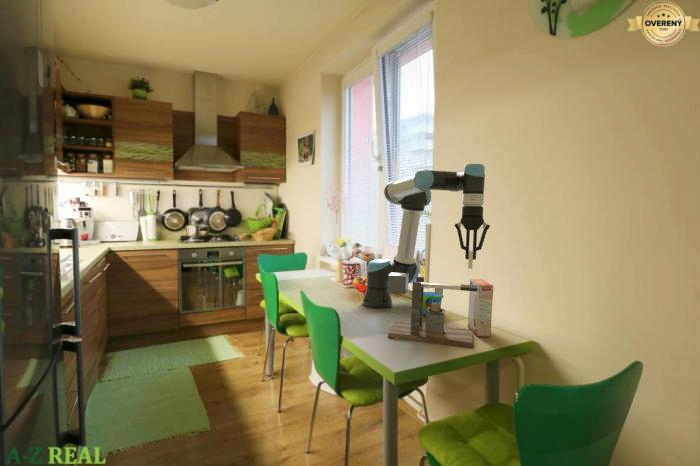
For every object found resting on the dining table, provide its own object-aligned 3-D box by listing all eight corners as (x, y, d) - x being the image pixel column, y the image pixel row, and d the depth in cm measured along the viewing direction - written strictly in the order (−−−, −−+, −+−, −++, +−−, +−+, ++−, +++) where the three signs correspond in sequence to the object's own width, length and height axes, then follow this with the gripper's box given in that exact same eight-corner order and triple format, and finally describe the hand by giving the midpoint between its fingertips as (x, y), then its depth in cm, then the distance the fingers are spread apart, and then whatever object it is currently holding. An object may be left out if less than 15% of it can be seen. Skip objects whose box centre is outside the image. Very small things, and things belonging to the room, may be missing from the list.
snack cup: (431, 310, 193) (431, 289, 193) (449, 314, 186) (450, 293, 185) (411, 315, 183) (412, 293, 182) (430, 320, 175) (431, 298, 174)
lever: (391, 288, 161) (392, 272, 160) (476, 295, 152) (477, 278, 151) (387, 293, 152) (387, 275, 151) (477, 301, 143) (477, 282, 142)
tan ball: (430, 311, 154) (431, 301, 154) (440, 312, 153) (441, 302, 153) (429, 313, 150) (430, 303, 150) (440, 314, 149) (440, 304, 149)
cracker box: (491, 337, 153) (494, 285, 152) (476, 337, 153) (478, 284, 152) (481, 327, 167) (483, 278, 166) (467, 326, 167) (469, 278, 166)
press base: (395, 326, 165) (396, 274, 163) (471, 334, 156) (473, 280, 155) (387, 337, 149) (389, 281, 148) (472, 347, 141) (475, 287, 139)
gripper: (454, 205, 144) (452, 268, 145) (491, 205, 140) (489, 270, 141) (455, 205, 151) (452, 265, 152) (490, 206, 147) (487, 267, 149)
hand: (470, 268), depth 147 cm, fingers closed
